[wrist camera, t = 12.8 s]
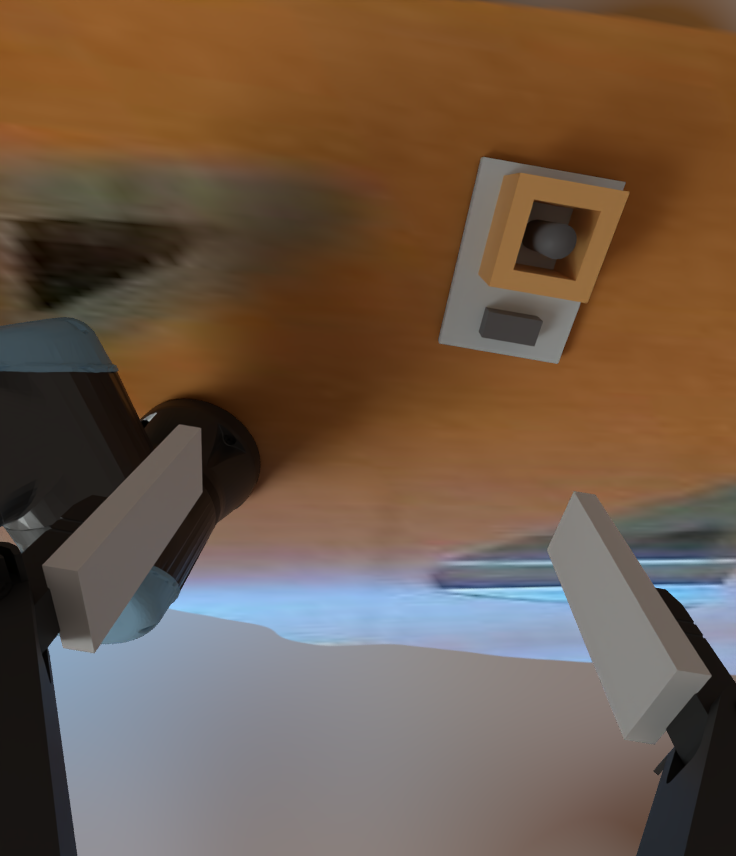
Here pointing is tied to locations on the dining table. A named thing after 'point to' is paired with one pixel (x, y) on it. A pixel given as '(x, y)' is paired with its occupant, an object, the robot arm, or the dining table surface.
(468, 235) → the keeper board
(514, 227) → the link
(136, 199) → the dining table surface
